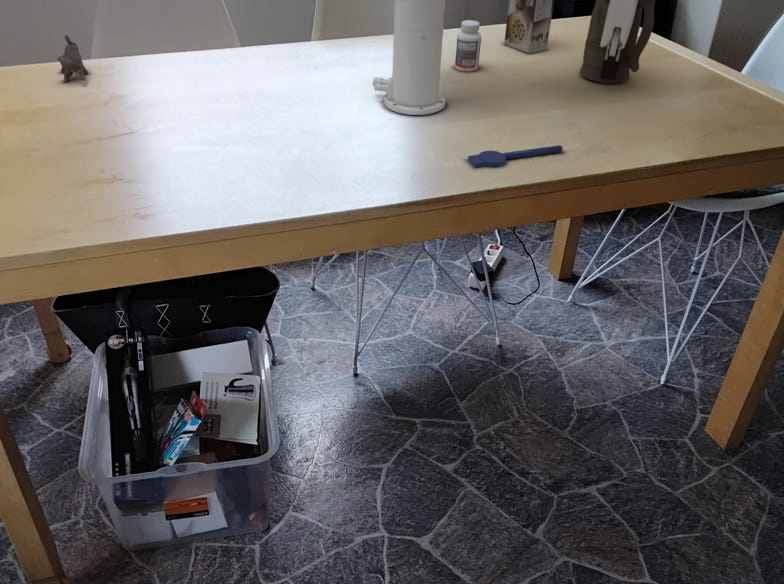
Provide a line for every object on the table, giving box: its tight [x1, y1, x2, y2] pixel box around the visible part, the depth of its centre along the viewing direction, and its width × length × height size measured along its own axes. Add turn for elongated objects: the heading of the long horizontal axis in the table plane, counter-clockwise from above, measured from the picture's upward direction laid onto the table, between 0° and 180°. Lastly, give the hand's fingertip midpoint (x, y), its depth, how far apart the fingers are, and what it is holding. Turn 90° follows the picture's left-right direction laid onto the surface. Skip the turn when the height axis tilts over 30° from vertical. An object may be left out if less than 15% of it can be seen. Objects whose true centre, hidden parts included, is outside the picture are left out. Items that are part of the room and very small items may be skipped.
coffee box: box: [503, 0, 555, 54], centre depth 173 cm, size 9×6×16 cm
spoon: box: [467, 144, 564, 168], centre depth 130 cm, size 18×5×1 cm, turn 108°
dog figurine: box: [57, 34, 89, 83], centre depth 156 cm, size 12×6×7 cm, turn 16°
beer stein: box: [579, 0, 656, 84], centre depth 155 cm, size 15×11×20 cm
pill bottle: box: [454, 19, 482, 72], centre depth 163 cm, size 5×5×10 cm
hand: (607, 78), depth 155 cm, fingers closed
